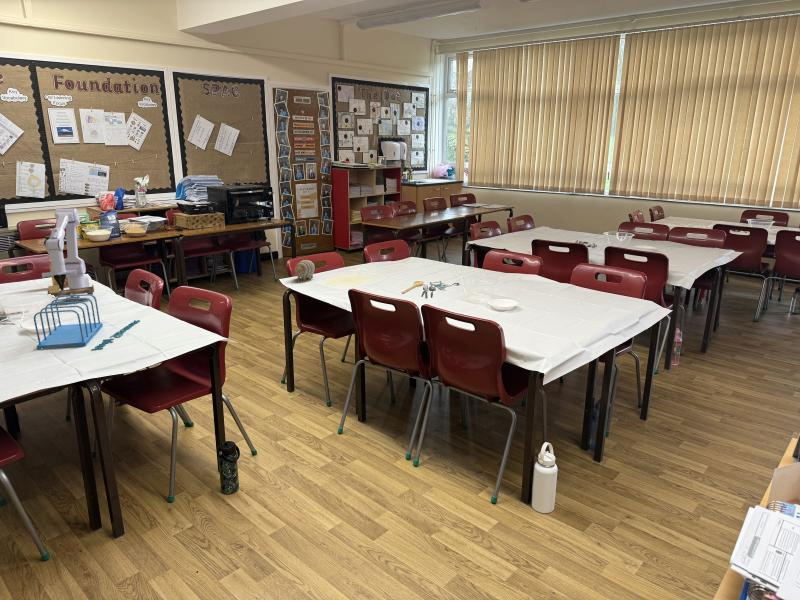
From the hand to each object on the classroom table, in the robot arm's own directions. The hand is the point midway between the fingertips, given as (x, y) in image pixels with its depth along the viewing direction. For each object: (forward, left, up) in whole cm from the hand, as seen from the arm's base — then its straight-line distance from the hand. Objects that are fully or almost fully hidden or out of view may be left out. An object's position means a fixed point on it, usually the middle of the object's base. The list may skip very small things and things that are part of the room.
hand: (62, 289), depth 280 cm
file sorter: (+40, +45, -7) cm, 61 cm away
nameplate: (+32, +61, -7) cm, 69 cm away
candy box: (-24, -25, -7) cm, 35 cm away
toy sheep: (-80, +95, -7) cm, 125 cm away
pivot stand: (-3, +3, -6) cm, 7 cm away
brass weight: (+2, -3, -1) cm, 4 cm away
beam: (-3, +3, -4) cm, 6 cm away
